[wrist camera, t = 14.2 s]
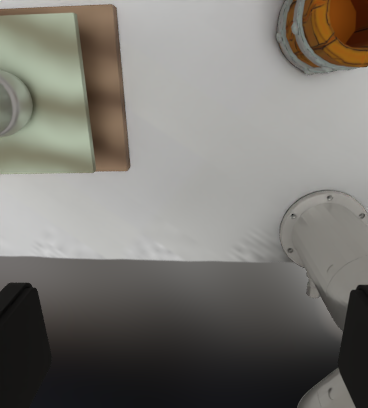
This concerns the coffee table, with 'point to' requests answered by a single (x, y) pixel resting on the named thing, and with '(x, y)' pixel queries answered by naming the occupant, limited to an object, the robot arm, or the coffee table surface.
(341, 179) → the coffee table surface
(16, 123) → the plastic bottle
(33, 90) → the walnut stand
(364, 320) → the robot arm
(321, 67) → the mug
